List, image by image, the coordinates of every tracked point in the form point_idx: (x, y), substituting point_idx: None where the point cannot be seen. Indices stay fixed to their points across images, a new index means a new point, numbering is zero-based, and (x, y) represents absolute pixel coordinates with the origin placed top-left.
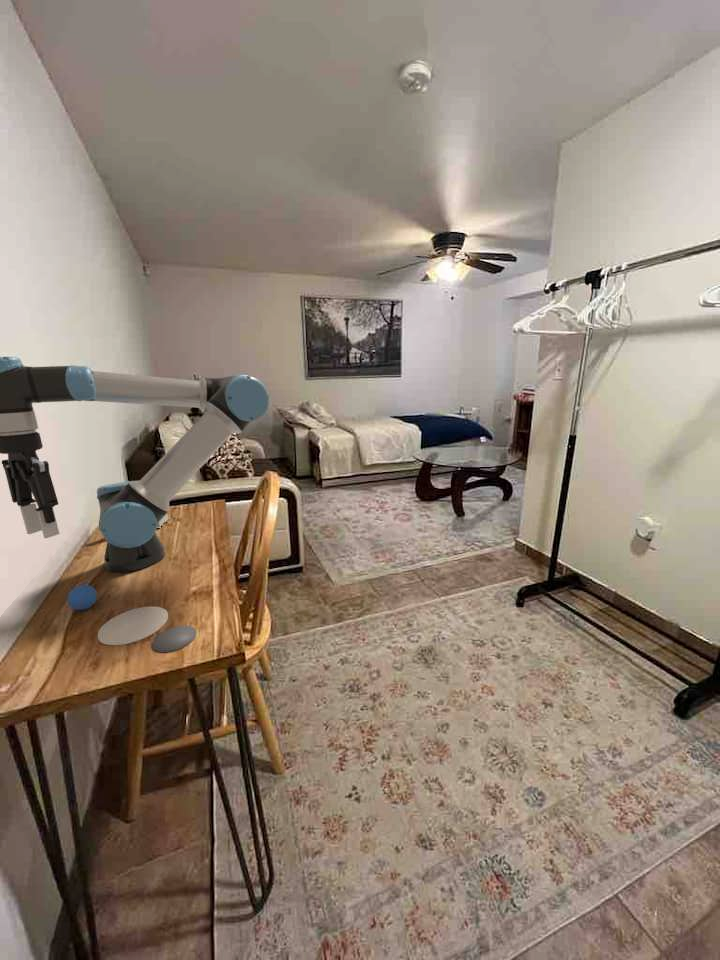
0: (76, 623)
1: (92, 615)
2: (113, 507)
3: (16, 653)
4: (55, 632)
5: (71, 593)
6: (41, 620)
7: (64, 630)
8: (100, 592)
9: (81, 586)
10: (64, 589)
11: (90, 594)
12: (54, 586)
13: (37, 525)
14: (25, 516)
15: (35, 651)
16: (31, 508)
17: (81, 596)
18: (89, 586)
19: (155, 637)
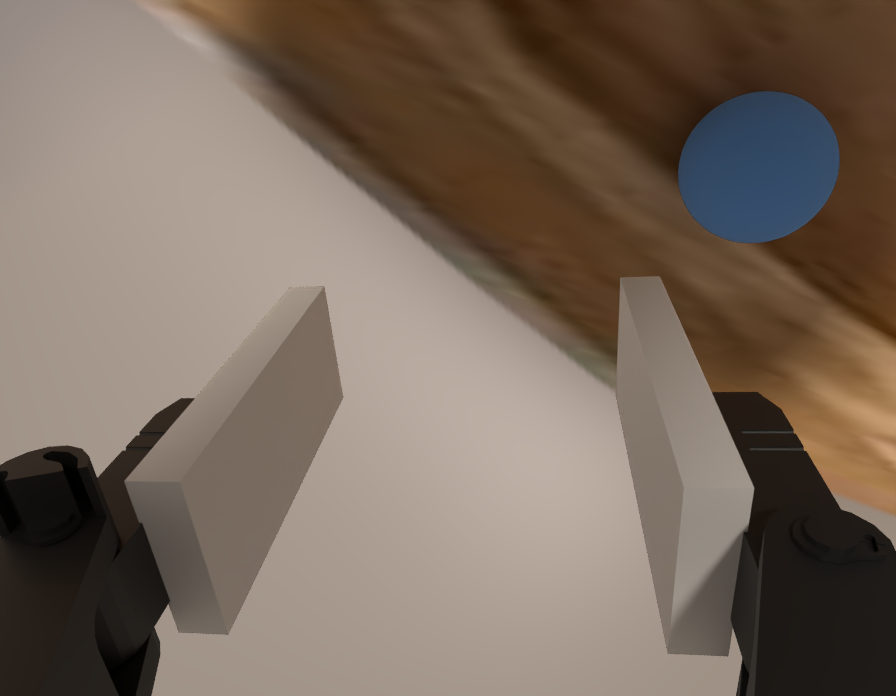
0: (831, 252)
1: (852, 177)
2: None
3: None
4: (797, 328)
5: (762, 234)
6: None
7: (826, 305)
8: (653, 6)
9: (789, 182)
10: (394, 94)
11: (839, 158)
12: (298, 103)
13: (310, 349)
14: (275, 515)
15: (846, 421)
16: (224, 501)
17: (822, 206)
18: (808, 139)
19: None
